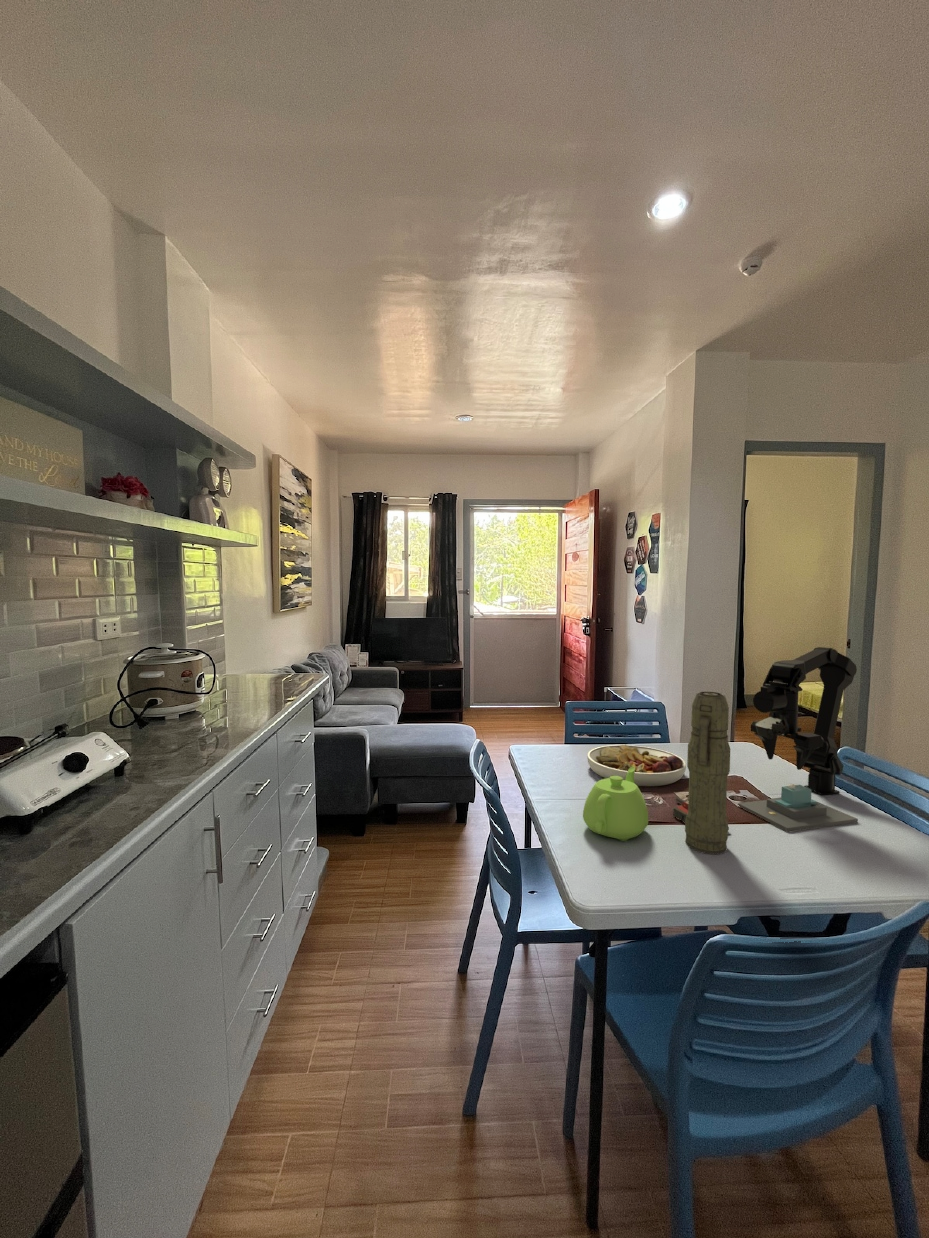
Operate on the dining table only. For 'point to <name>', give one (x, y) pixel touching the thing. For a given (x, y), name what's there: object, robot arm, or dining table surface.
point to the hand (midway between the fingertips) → (784, 764)
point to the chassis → (797, 815)
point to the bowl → (637, 764)
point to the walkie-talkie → (681, 810)
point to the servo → (795, 797)
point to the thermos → (708, 774)
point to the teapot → (616, 808)
